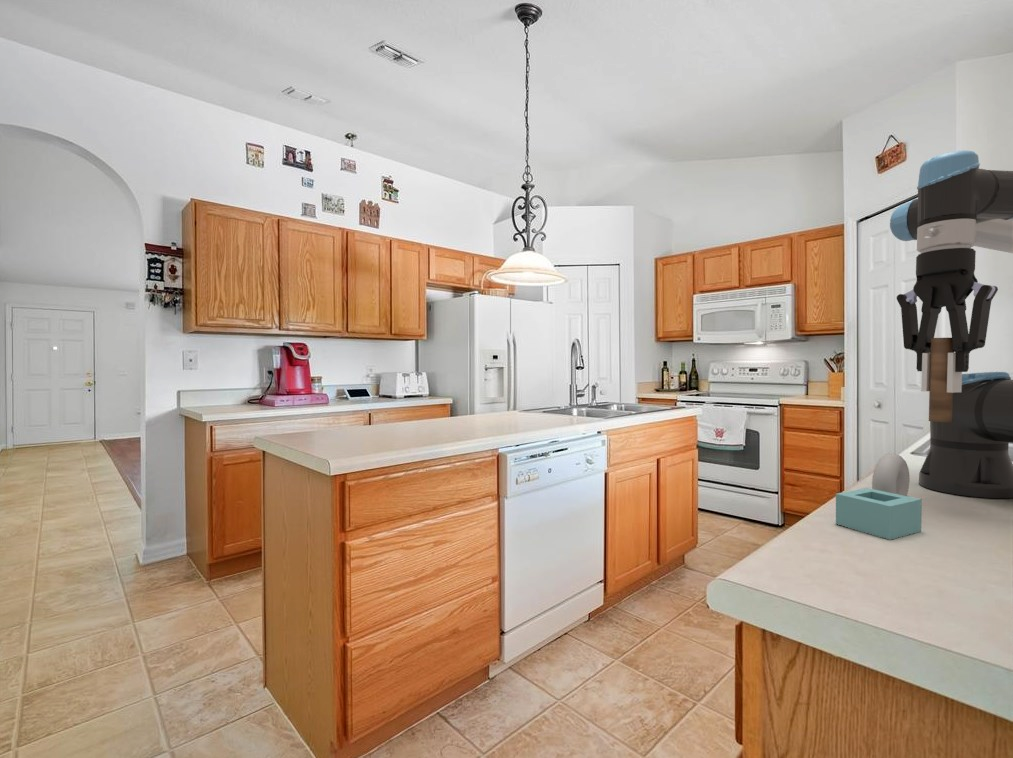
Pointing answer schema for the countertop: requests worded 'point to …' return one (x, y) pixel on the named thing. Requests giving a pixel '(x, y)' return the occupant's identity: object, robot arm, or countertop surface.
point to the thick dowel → (940, 381)
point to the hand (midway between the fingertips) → (940, 391)
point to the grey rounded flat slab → (891, 475)
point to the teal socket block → (879, 512)
